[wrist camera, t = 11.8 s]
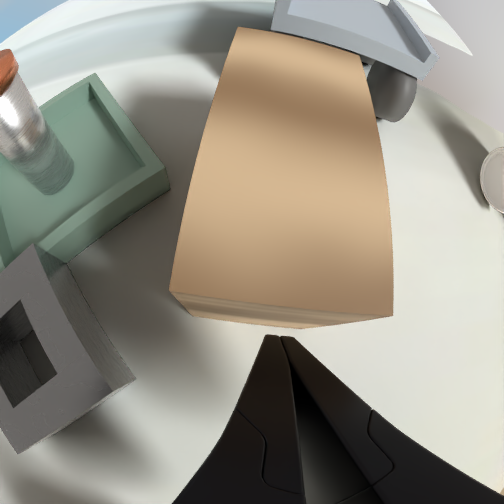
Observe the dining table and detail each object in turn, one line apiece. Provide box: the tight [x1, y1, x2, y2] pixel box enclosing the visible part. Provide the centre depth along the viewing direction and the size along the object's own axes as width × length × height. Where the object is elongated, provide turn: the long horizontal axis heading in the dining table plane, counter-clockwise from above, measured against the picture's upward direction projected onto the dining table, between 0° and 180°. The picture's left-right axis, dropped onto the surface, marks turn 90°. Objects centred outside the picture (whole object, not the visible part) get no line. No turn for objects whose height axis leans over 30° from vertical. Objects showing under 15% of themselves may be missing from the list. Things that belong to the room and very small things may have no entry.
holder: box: [0, 243, 136, 454], centre depth 11 cm, size 8×8×4 cm
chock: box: [169, 27, 393, 329], centre depth 13 cm, size 12×6×9 cm, turn 173°
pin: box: [0, 49, 75, 195], centre depth 11 cm, size 4×4×10 cm
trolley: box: [270, 0, 439, 122], centre depth 19 cm, size 15×12×9 cm
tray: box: [0, 73, 170, 273], centre depth 15 cm, size 12×12×2 cm
